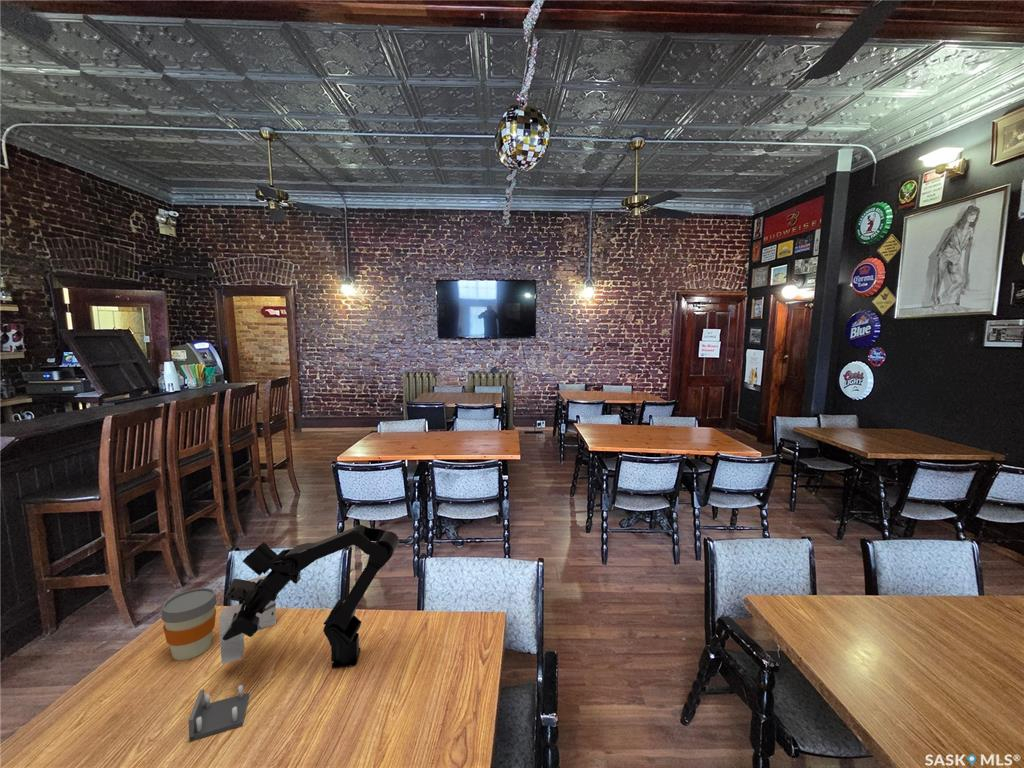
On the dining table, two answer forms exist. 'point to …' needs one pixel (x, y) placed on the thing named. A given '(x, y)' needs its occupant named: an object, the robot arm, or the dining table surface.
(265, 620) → the ink box
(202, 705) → the drive dock
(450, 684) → the dining table surface
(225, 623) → the silver tall square block
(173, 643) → the reusable coffee cup
